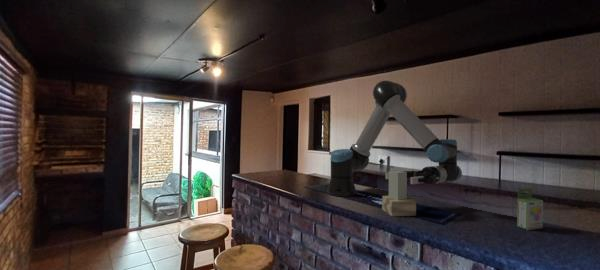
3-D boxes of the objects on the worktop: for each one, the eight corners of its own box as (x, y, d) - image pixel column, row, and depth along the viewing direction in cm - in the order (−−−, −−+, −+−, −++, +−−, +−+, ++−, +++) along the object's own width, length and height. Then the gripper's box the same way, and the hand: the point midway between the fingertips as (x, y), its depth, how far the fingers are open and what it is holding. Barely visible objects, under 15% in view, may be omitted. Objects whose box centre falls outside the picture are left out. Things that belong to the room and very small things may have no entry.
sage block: (388, 197, 121) (388, 171, 121) (397, 196, 123) (397, 170, 123) (397, 200, 116) (397, 172, 116) (406, 198, 119) (406, 172, 119)
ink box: (528, 230, 98) (528, 191, 97) (516, 226, 101) (517, 188, 101) (543, 228, 100) (543, 190, 99) (531, 225, 103) (531, 187, 103)
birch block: (382, 209, 124) (382, 195, 124) (404, 209, 125) (404, 195, 125) (391, 216, 114) (391, 201, 114) (415, 216, 115) (416, 201, 115)
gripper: (459, 188, 117) (423, 193, 108) (410, 179, 140) (377, 182, 130) (459, 169, 117) (423, 173, 108) (410, 163, 139) (377, 165, 130)
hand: (398, 178), depth 119 cm, fingers open, 13 cm apart
